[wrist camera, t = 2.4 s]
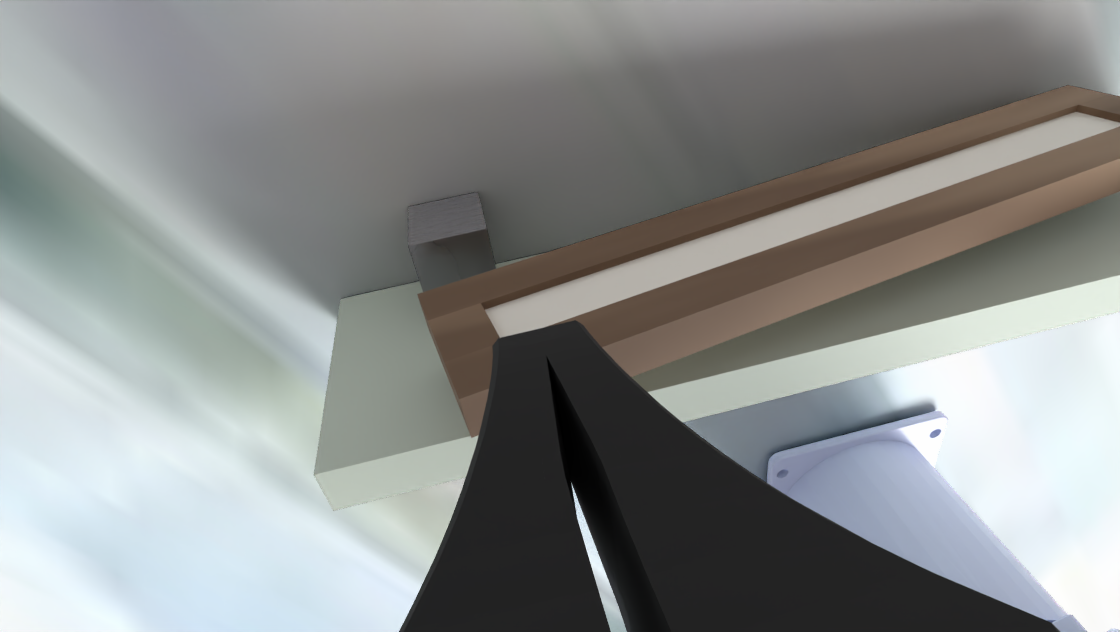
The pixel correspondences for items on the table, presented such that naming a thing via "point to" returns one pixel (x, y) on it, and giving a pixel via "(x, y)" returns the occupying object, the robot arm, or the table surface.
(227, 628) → the table surface
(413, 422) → the wall panel
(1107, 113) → the grooved wooden rail
